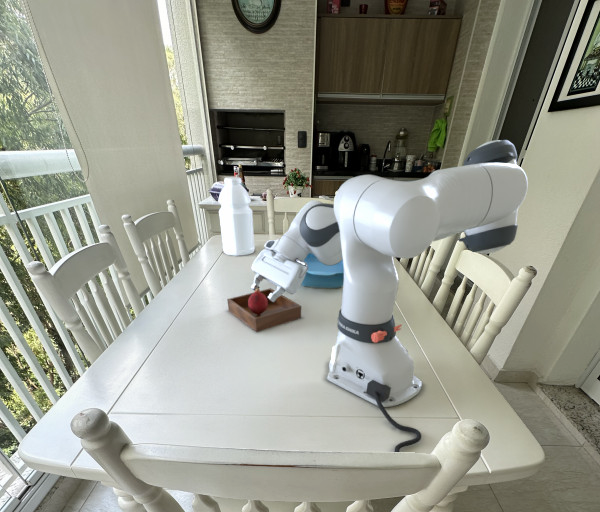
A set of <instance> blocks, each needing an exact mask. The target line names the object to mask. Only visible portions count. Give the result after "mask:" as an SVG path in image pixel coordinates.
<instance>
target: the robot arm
mask: <svg viewBox="0 0 600 512" xmlns="http://www.w3.org/2000/svg"><path fill="white" fill-rule="evenodd" d="M517 160H518V154H517V150H516V147H515V144H514V143H512V142H511V141H510V140H508V139H501V140H500V139H499V140H498V139H497V140H489V141H487V142H485V143H483V144H481V145H479V146H478V147H476V148H475V149H473V150H472V151H470V152H469V153H468V155H466V157H465V159H464V160H463V164H462V165H459V166H454V167H448V168H441V169H437V170H434V171H432V172H430V174H429V175H428V176H426V177H424V178H421V179H417V180H407V181H405V180H395V179H391V178H386V177H381V176H378V175H375V174H362V175H357V176H355V177H351V178H348V179H347V180H345V181H344V182H343V183H342V184H341V185H340V186H339V189H337V191H336V194H335V196H334V200H333V203H325V202H323V201H319V200H315V199H314V200H313V199H312V200H309V201H308V202H306V203H305V204H304V205H303V206H302V207H301V208H300V210H299V211H298V212H297V214H296V215H295V217H294V218H293V220H292V221H291V222H290V225H289V228H288V230H286V232H285V233H283V235H282V236H281V237H280V238H276V239H273V240H271V239H270V240H267V241H266V242H265V243H264V245H263V247H264V248H263V249H262V250H261V251H260V252H259V253H258V255H257V256H256V257H255V259H254V260H253V262H252V265H251V271H252V272H253V273H254V274H255V275H254V277H253V282H252V284H251V285H250V289H251V290H253V291H254V292H255V290H256V289H260V288H261V287H260V284H261V282H263V280H265V281H267V282H269V283H271V284H273V285H274V286H276V288H275V292H273V293H270V294H269V296H268V299H269V300H270V301H272V302H275V300H276V299H277V298H278V297H279V296H281V295H283V296H284V293H285V292H286V293H289V294H290V295H294V294H296V293H297V291H298V290H299V289H300V287H301V286H302V285H301V283H302V282H303V280H304V277H305V274H306V272H307V271H308V264H307V263H306V262H303V261H304V260H305V258H306V257H307V255H308V254H309V253H311V254H313V255H314V256H315V257H316V258H317V259H318V260H319V261H320V262H321V263H323V264H324V265H328V266H331V265H335V264H337V263H339V262H341V261H342V260H343V267H344V283H343V286H342V295H341V296H342V297H341V308H340V309H339V310H338V316H337V329H338V332H337V335H336V336H337V337H336V341H335V344H334V346H332V351H331V358H330V361H329V363H328V369H329V371H328V374H327V376H326V379H327V381H328V382H330V383H332V384H334V385H336V386H338V387H340V388H341V389H343V390H346V391H347V392H350V393H352V394H353V395H355V396H357V397H359V398H361V399H363V400H365V401H367V402H369V403H371V404H373V405H375V406H377V407H378V409H379V411H380V412H381V413H382V415H383V416H384V417H385V419H386V420H387V421H388V423H390V424H391V425H392V426H394V427H395V428H396V429H398V430H400V431H405V432H409V433H412V434H415V438H412V439H409V440H405V441H402V442H400V443H398V444H397V445H395V447H394V450H393V452H400V450H401V449H402V448H403V449H404V448H405V447H408V446H411V445H415V444H417V443H419V442H420V441H421V440H422V433H421V432H420V430H419V429H416V428H414V427H411V426H406V425H402V424H400V423H398V422H397V421H395V419H393V418H392V416H390V414H389V412H388V411H387V410H386V408H389V407H394V406H398V405H401V404H403V403H405V402H408V401H410V400H411V399H413V398H414V397H416V396H418V394H419V393H420V392H421V390H422V385H423V382H422V381H421V379H420V378H418V377H417V376H416V375H414V374H415V362H414V360H413V358H412V357H411V356H410V354H409V351H408V350H407V348H405V347H404V345H403V344H402V342H401V341H400V339H399V338H398V336H397V332H399V331H400V330H402V328H401V327H402V324H399V325H396V321H395V316H394V315H395V314H394V310H395V306H396V305H395V304H396V298H397V294H398V289H399V284H400V283H399V274H398V271H397V269H396V266H395V263H394V258H399V259H413V258H415V257H418V256H419V255H421V254H423V253H424V252H425V251H426V250H427V249H428V248H429V247H430V246H431V245H432V244H433V242H436V241H441V240H443V239H446V238H449V237H452V236H454V235H458V234H459V233H464V237H460V238H458V242H462V243H463V245H464V246H465V248H466V249H468V250H469V251H470V252H472V253H477V254H484V255H486V254H493V253H496V252H499V251H501V250H502V249H505V248H506V247H507V246H509V245H511V244H512V243H513V242H514V241H515V239H516V236H517V233H518V228H519V227H518V224H517V221H518V220H517V219H518V210H519V208H520V207H521V205H522V204H523V202H524V200H525V198H526V196H527V192H528V187H529V185H528V184H529V182H528V177H527V174H526V172H525V171H524V169H523V168H522V167H520V166H519V165H518V164H517Z"/></svg>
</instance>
